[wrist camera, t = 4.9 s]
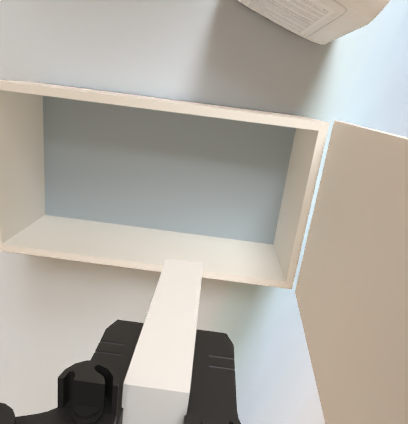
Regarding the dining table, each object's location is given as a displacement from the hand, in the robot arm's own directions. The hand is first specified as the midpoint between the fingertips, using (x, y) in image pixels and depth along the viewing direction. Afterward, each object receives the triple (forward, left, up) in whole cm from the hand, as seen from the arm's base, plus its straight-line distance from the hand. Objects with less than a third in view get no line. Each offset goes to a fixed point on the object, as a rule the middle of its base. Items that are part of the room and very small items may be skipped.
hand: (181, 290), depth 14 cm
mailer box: (0, -4, -21) cm, 21 cm away
